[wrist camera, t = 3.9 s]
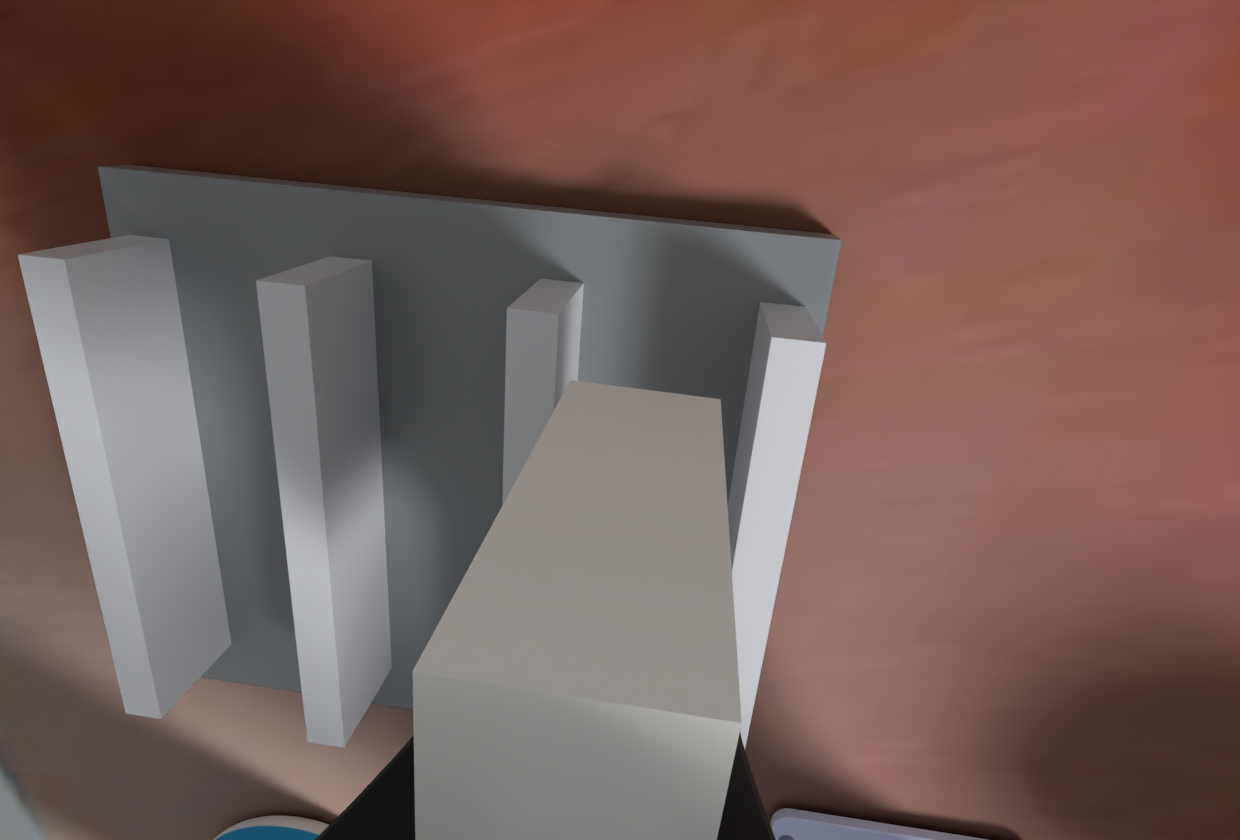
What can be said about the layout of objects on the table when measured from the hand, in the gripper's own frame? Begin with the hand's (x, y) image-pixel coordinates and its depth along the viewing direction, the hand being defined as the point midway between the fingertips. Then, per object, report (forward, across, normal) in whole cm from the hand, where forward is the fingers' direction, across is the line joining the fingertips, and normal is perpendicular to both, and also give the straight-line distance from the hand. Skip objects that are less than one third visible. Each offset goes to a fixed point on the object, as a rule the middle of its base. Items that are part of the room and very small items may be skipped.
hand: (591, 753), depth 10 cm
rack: (+10, +5, +1) cm, 11 cm away
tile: (+4, 0, 0) cm, 4 cm away
